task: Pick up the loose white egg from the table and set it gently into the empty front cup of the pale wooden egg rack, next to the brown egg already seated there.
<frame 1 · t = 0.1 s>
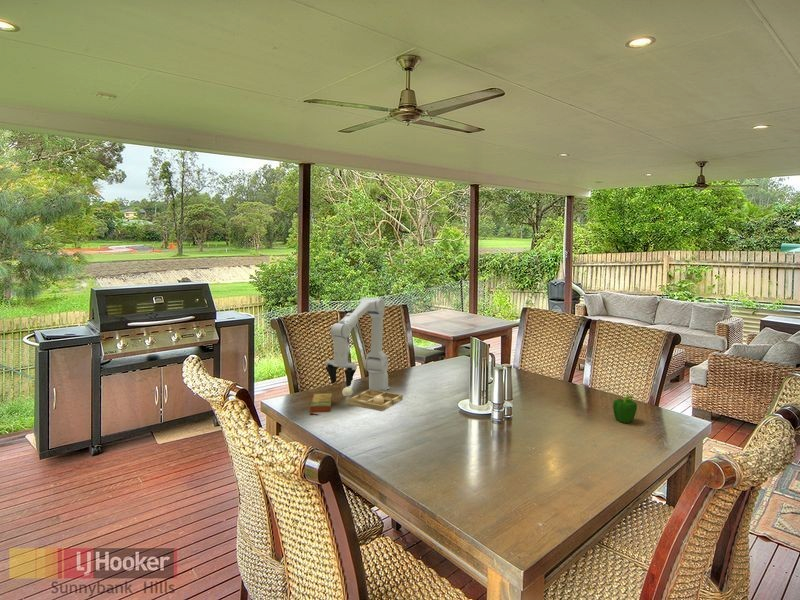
hand: (341, 384, 202), 10 cm above the table, tool pointing down, fingers open, 7 cm apart
brown egg: (378, 405, 201), point 1 cm above the table, touching egg rack
white egg: (347, 397, 216), on the table
bell pepper: (624, 421, 188), on the table
egg rack: (375, 404, 207), on the table
carton: (321, 409, 202), on the table
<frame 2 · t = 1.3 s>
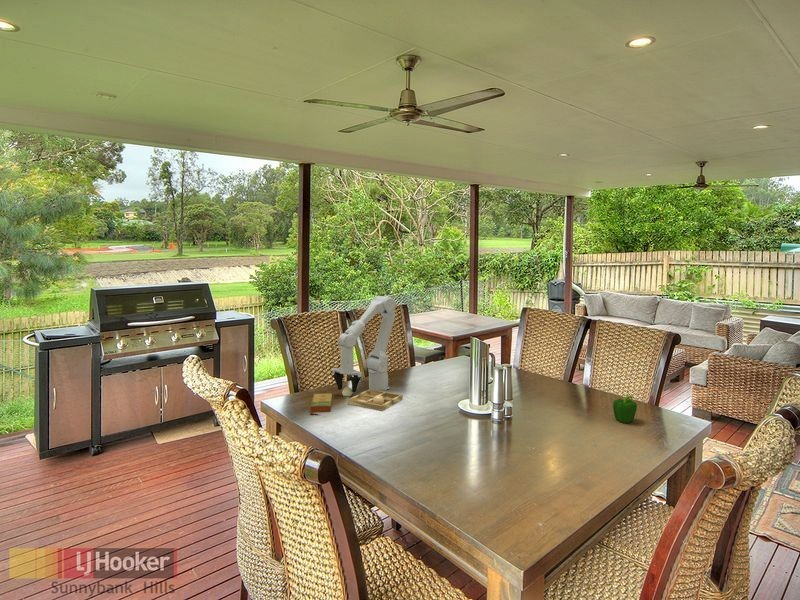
hand: (347, 390, 216), 3 cm above the table, tool pointing down, fingers open, 7 cm apart
nothing on the table moved.
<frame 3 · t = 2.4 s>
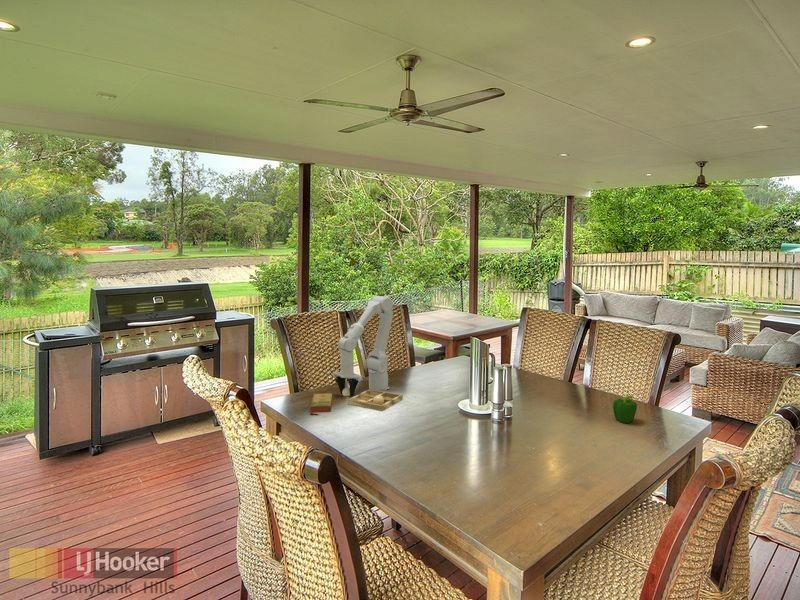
hand: (347, 394, 216), 1 cm above the table, tool pointing down, fingers closed on white egg, 5 cm apart
white egg: (347, 397, 216), on the table, touching gripper
everything else where it was.
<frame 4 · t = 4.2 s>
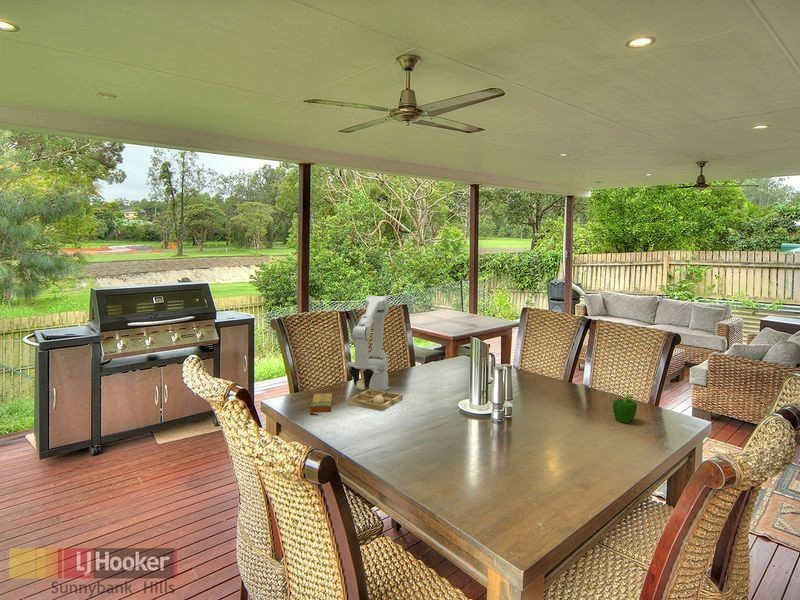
hand: (361, 386, 205), 8 cm above the table, tool pointing down, fingers closed on white egg, 5 cm apart
white egg: (361, 389, 205), point 7 cm above the table, touching gripper
everything else where it was.
when the fingers open (4 cm above the table, at t = 5.8 s): white egg drops 2 cm, resting on egg rack.
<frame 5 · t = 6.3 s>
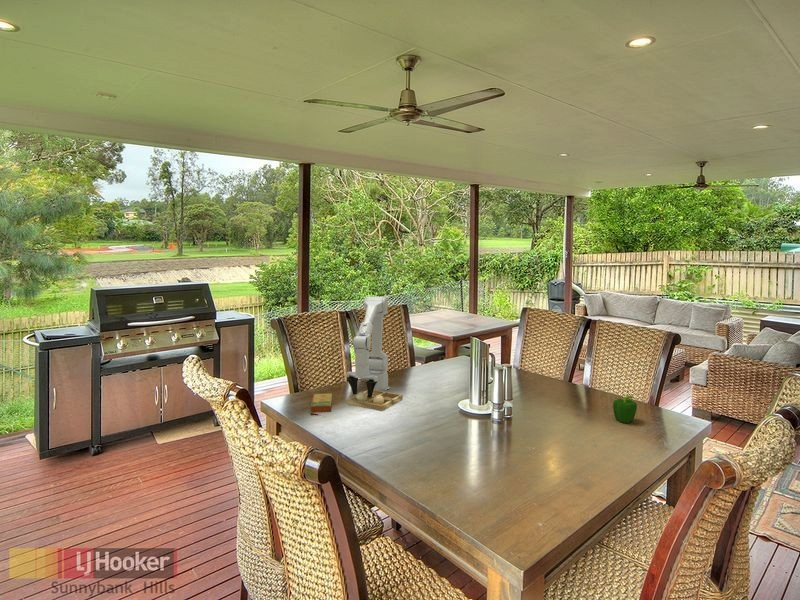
hand: (362, 395, 205), 4 cm above the table, tool pointing down, fingers open, 7 cm apart
white egg: (362, 402, 205), point 1 cm above the table, tilted 9°, touching egg rack
everything else where it was.
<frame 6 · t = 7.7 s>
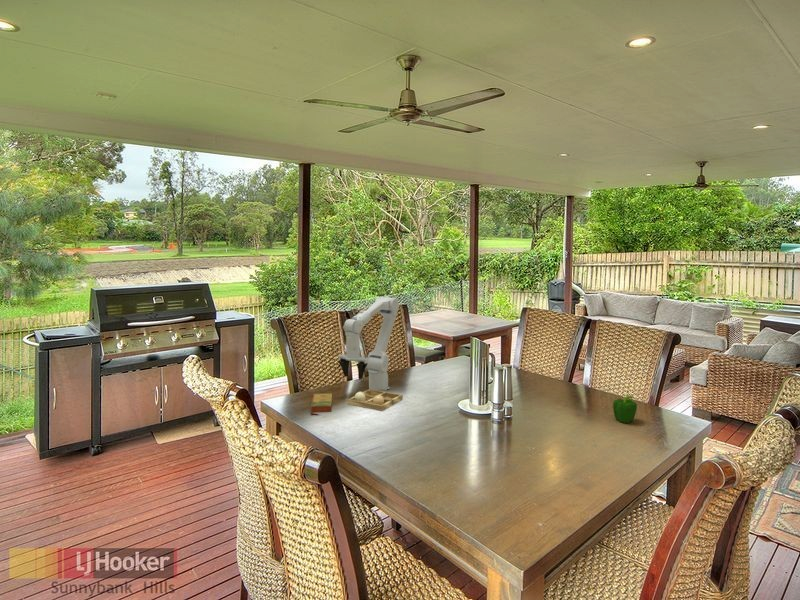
hand: (353, 377, 212), 10 cm above the table, tool pointing down, fingers open, 7 cm apart
white egg: (362, 402, 205), point 2 cm above the table, tilted 30°, touching egg rack
everything else where it was.
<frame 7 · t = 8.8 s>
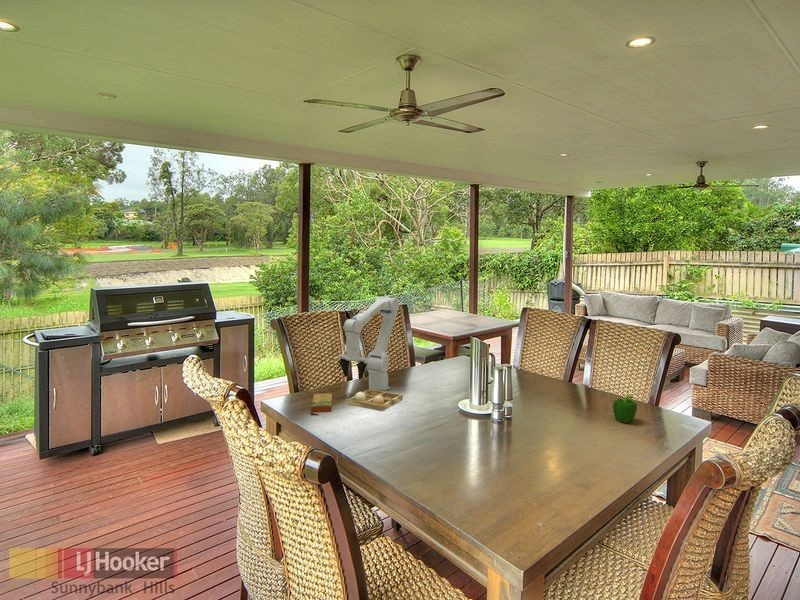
hand: (353, 377, 212), 10 cm above the table, tool pointing down, fingers open, 7 cm apart
nothing on the table moved.
at the end: white egg 0.0 cm from the target spot on the egg rack, point 1.4 cm above the egg rack's base; the gripper is holding nothing; brown egg moved 0.0 cm from its start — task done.
